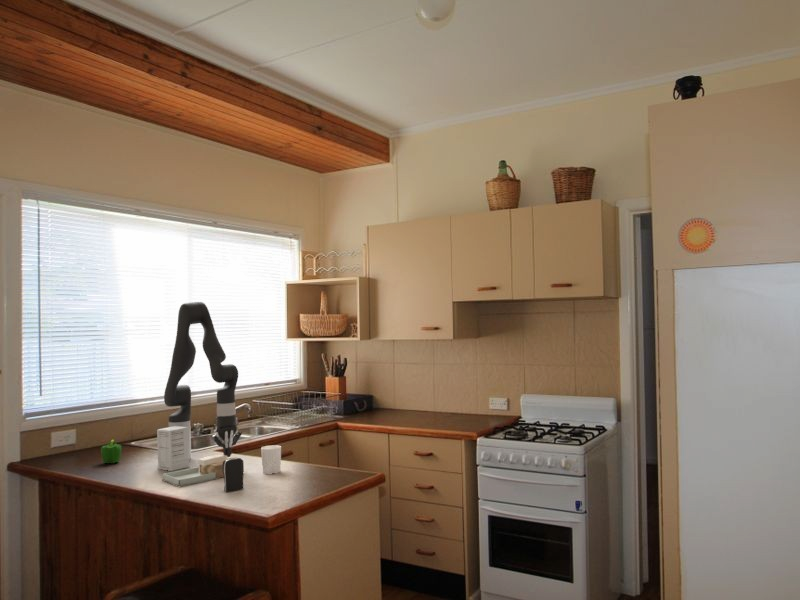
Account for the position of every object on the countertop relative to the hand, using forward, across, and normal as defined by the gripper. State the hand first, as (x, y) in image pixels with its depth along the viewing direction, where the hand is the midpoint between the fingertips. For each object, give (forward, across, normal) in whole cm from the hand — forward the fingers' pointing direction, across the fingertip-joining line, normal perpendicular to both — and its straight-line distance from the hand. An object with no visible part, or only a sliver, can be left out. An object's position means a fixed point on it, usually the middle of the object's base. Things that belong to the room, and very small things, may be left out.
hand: (227, 456), depth 254 cm
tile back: (+1, +4, 0) cm, 4 cm away
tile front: (+1, +9, 0) cm, 9 cm away
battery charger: (+6, +13, +28) cm, 31 cm away
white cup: (+6, -11, +15) cm, 20 cm away
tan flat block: (+6, +3, 0) cm, 7 cm away
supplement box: (+6, +12, -25) cm, 28 cm away
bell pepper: (+6, +25, -58) cm, 64 cm away
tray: (+6, +17, 0) cm, 18 cm away
